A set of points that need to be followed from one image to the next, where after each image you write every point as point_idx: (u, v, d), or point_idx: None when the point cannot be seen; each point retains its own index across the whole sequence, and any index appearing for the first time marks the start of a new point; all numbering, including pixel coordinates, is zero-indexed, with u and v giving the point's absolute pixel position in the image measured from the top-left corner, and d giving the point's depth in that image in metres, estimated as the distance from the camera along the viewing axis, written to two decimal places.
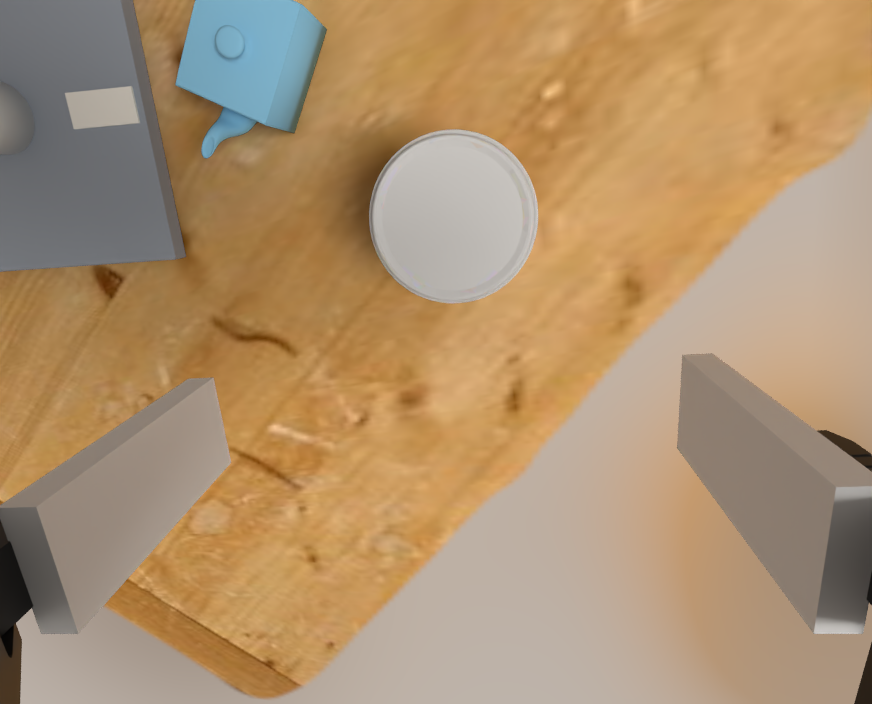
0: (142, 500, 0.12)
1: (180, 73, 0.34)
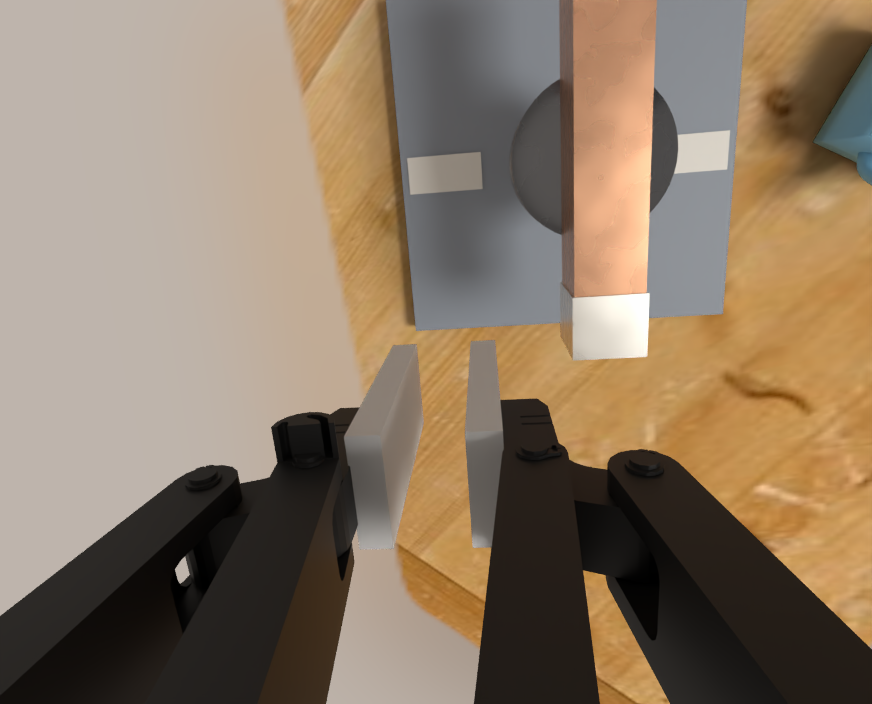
0: (403, 444, 0.14)
1: None
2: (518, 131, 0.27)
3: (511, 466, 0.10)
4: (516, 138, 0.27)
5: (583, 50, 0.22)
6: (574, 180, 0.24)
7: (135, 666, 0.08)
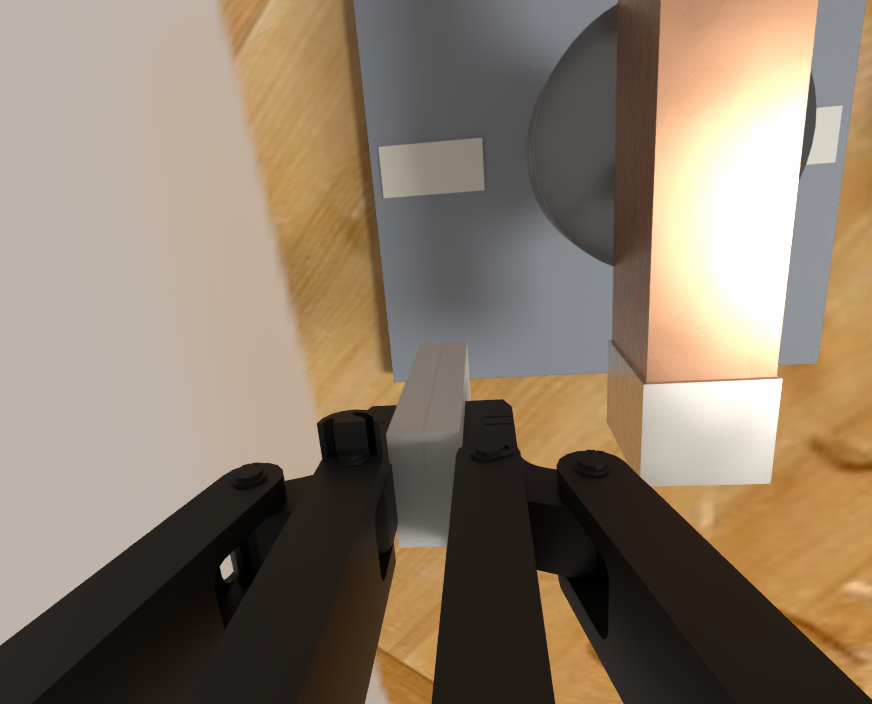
0: None
1: None
2: (545, 95, 0.16)
3: (465, 468, 0.10)
4: (541, 107, 0.16)
5: None
6: (655, 177, 0.13)
7: (177, 664, 0.08)
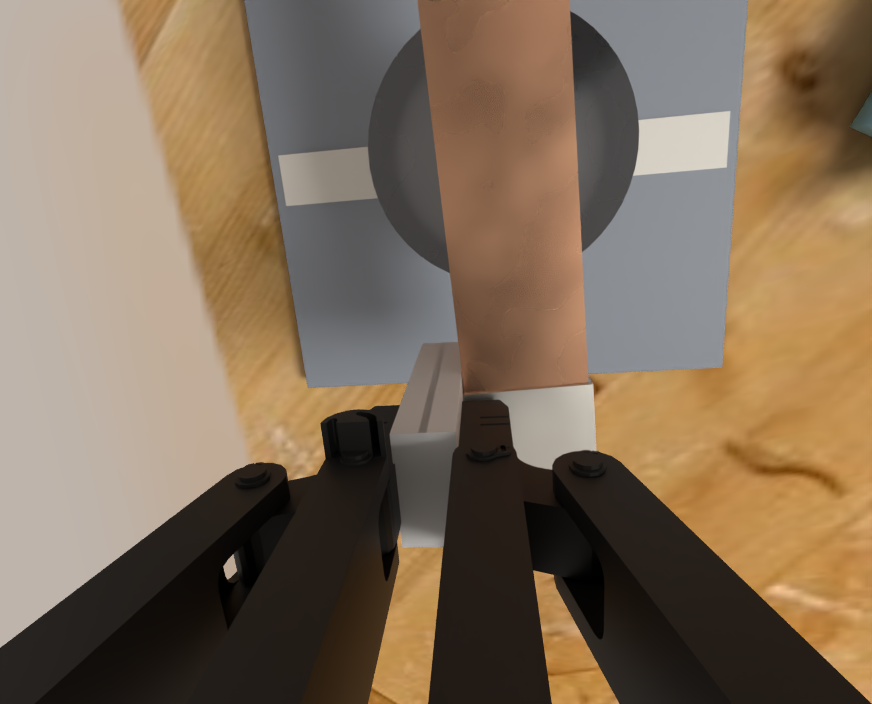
0: None
1: None
2: (373, 113, 0.16)
3: (461, 468, 0.10)
4: (371, 125, 0.16)
5: None
6: (441, 193, 0.13)
7: (181, 664, 0.08)
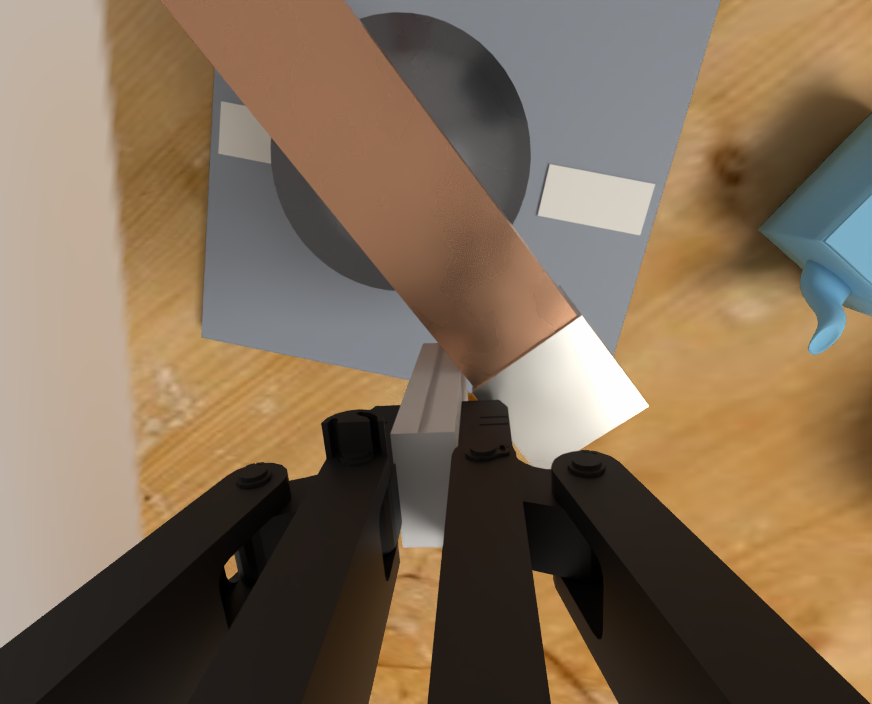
0: None
1: (842, 228, 0.21)
2: (281, 198, 0.17)
3: (461, 468, 0.10)
4: (285, 209, 0.17)
5: (218, 46, 0.12)
6: (349, 231, 0.13)
7: (181, 664, 0.08)
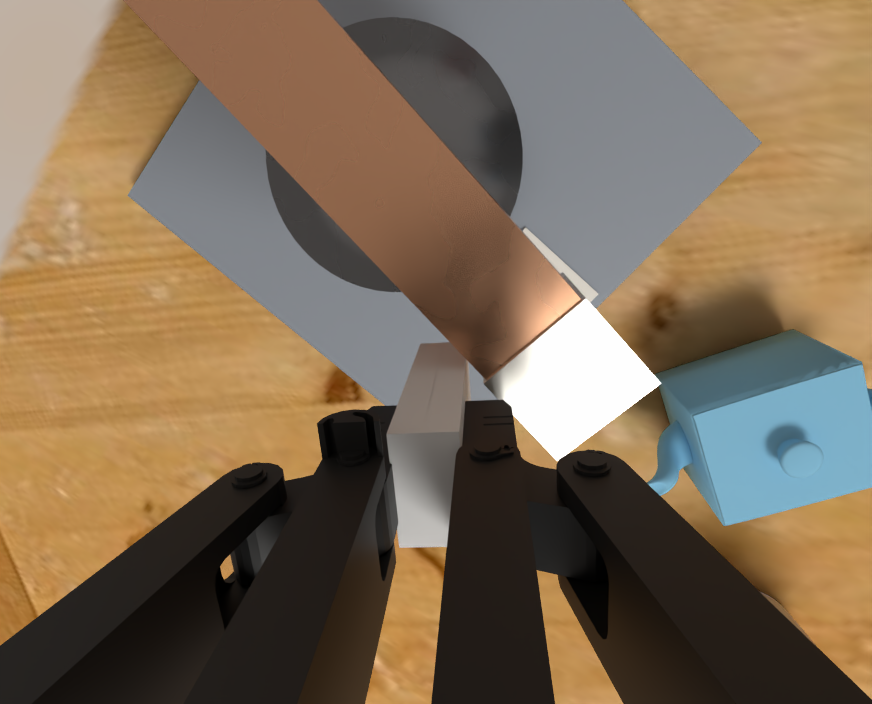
0: None
1: (710, 413, 0.24)
2: (280, 211, 0.18)
3: (465, 468, 0.10)
4: (285, 220, 0.18)
5: (208, 65, 0.13)
6: (349, 235, 0.14)
7: (177, 664, 0.08)
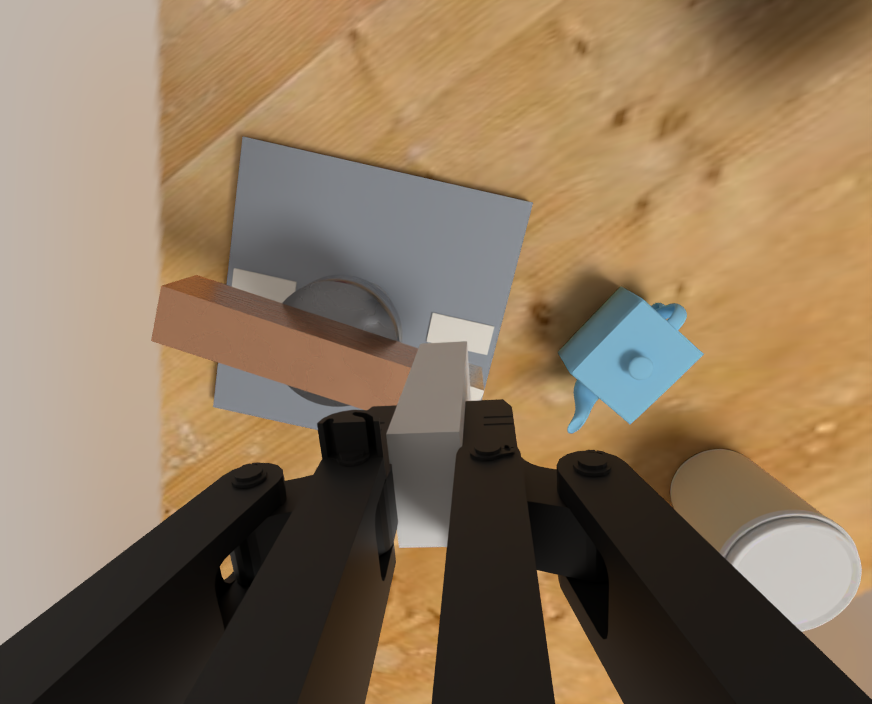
0: None
1: (579, 367, 0.39)
2: (295, 391, 0.35)
3: (465, 468, 0.10)
4: (299, 394, 0.35)
5: (240, 362, 0.30)
6: (326, 396, 0.30)
7: (177, 664, 0.08)
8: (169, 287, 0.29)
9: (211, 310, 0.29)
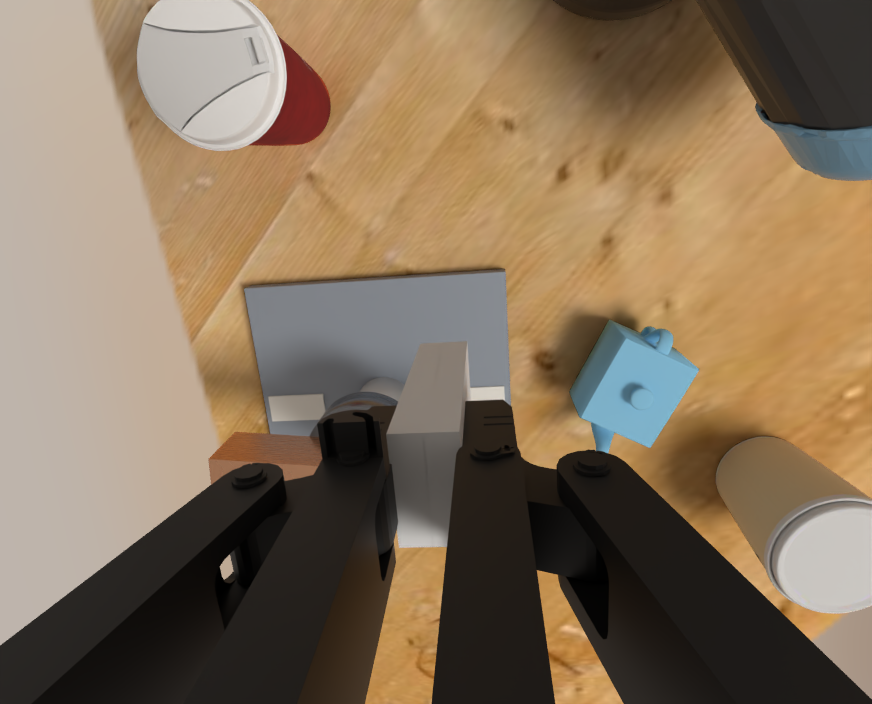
0: None
1: (586, 410, 0.42)
2: None
3: (465, 467, 0.10)
4: None
5: None
6: None
7: (177, 664, 0.08)
8: (215, 458, 0.35)
9: None
